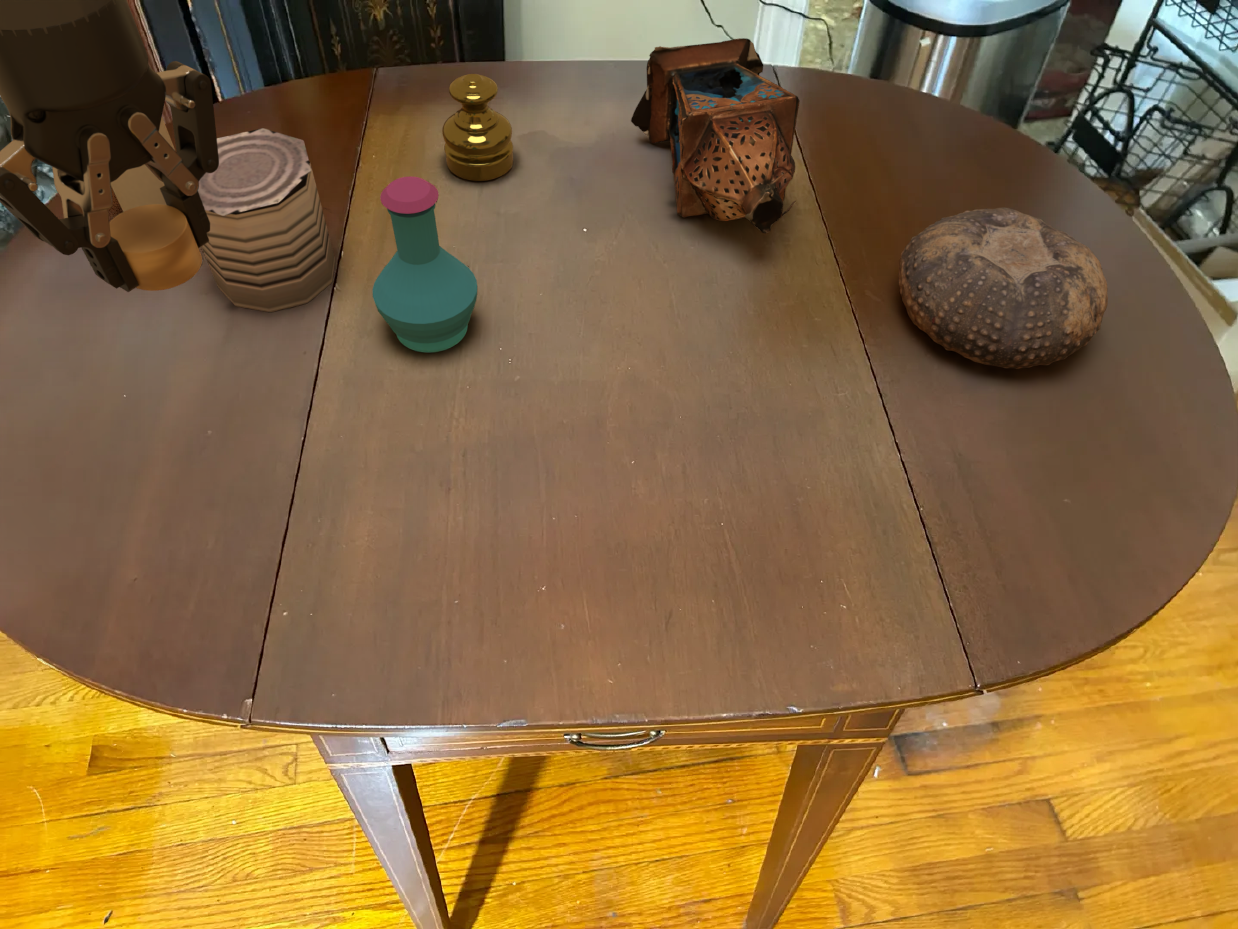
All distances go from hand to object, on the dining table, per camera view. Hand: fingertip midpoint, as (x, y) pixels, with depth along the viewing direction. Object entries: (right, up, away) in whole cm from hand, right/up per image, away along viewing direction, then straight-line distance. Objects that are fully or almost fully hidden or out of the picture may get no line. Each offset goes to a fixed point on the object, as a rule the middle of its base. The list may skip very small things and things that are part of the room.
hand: (160, 261), depth 58 cm
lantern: (+40, +16, +41) cm, 60 cm away
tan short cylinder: (0, 0, 0) cm, 0 cm away
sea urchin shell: (+65, +2, +31) cm, 72 cm away
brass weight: (+14, +20, +43) cm, 50 cm away
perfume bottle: (+12, 0, +27) cm, 29 cm away
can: (-4, +6, +31) cm, 31 cm away
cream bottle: (-18, +13, +36) cm, 42 cm away
